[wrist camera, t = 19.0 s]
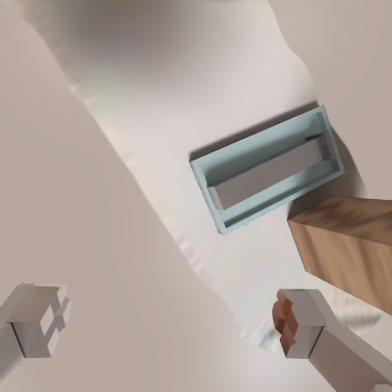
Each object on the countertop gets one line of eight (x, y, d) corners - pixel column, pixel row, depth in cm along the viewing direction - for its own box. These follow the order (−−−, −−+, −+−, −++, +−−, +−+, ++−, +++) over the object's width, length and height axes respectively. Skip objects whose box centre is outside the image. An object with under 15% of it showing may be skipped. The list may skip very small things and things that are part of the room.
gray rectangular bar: (216, 211, 36) (228, 214, 33) (205, 184, 36) (215, 183, 32) (316, 160, 42) (336, 157, 38) (308, 135, 41) (328, 130, 37)
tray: (218, 233, 39) (223, 235, 37) (189, 162, 37) (192, 161, 35) (336, 173, 44) (345, 172, 42) (315, 108, 42) (323, 104, 40)
